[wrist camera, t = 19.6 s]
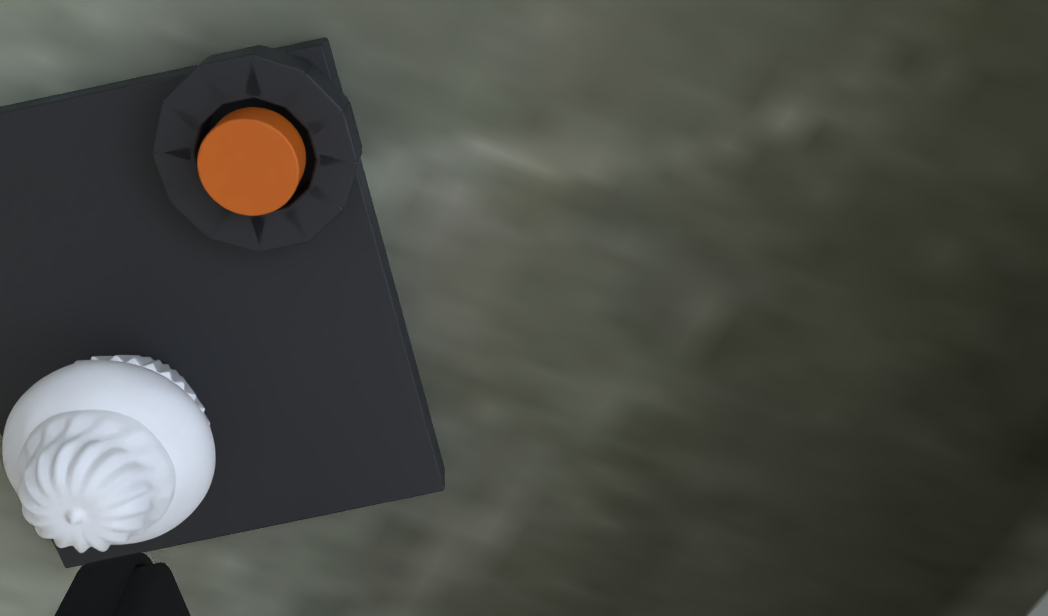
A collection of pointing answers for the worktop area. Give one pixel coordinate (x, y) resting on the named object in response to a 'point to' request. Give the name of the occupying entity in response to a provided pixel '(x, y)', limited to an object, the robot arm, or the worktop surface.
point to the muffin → (108, 452)
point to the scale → (218, 286)
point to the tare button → (251, 161)
